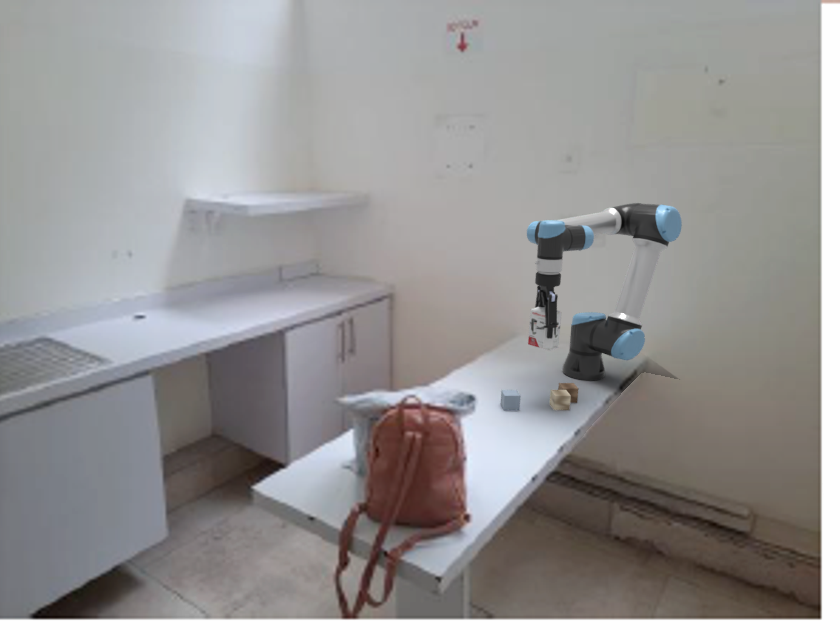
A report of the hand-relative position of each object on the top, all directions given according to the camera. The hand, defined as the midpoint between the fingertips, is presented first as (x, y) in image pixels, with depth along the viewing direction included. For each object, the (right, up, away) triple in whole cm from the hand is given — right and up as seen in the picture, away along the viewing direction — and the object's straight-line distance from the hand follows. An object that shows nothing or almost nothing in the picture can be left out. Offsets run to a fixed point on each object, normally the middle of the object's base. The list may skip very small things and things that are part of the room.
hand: (543, 342), depth 180 cm
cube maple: (+6, -21, +4) cm, 22 cm away
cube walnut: (+10, -19, +10) cm, 24 cm away
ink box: (0, -1, 0) cm, 1 cm away
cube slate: (-10, -21, +3) cm, 23 cm away
